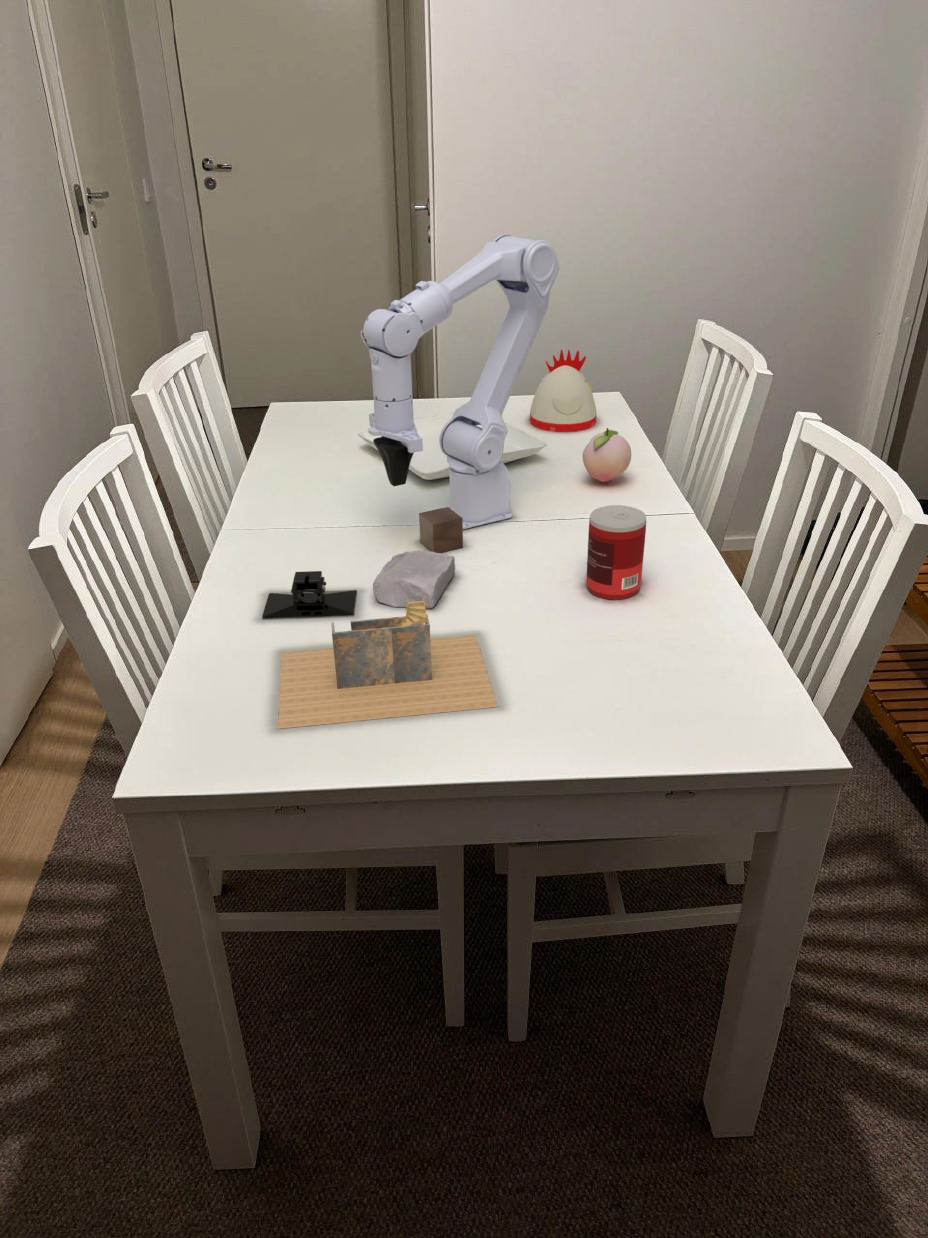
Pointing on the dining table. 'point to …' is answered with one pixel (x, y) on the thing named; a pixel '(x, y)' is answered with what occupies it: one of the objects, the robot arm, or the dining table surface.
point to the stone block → (414, 578)
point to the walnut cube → (441, 530)
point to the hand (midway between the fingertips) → (397, 483)
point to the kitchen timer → (564, 398)
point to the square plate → (435, 461)
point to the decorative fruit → (607, 456)
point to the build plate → (310, 599)
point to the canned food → (615, 551)
